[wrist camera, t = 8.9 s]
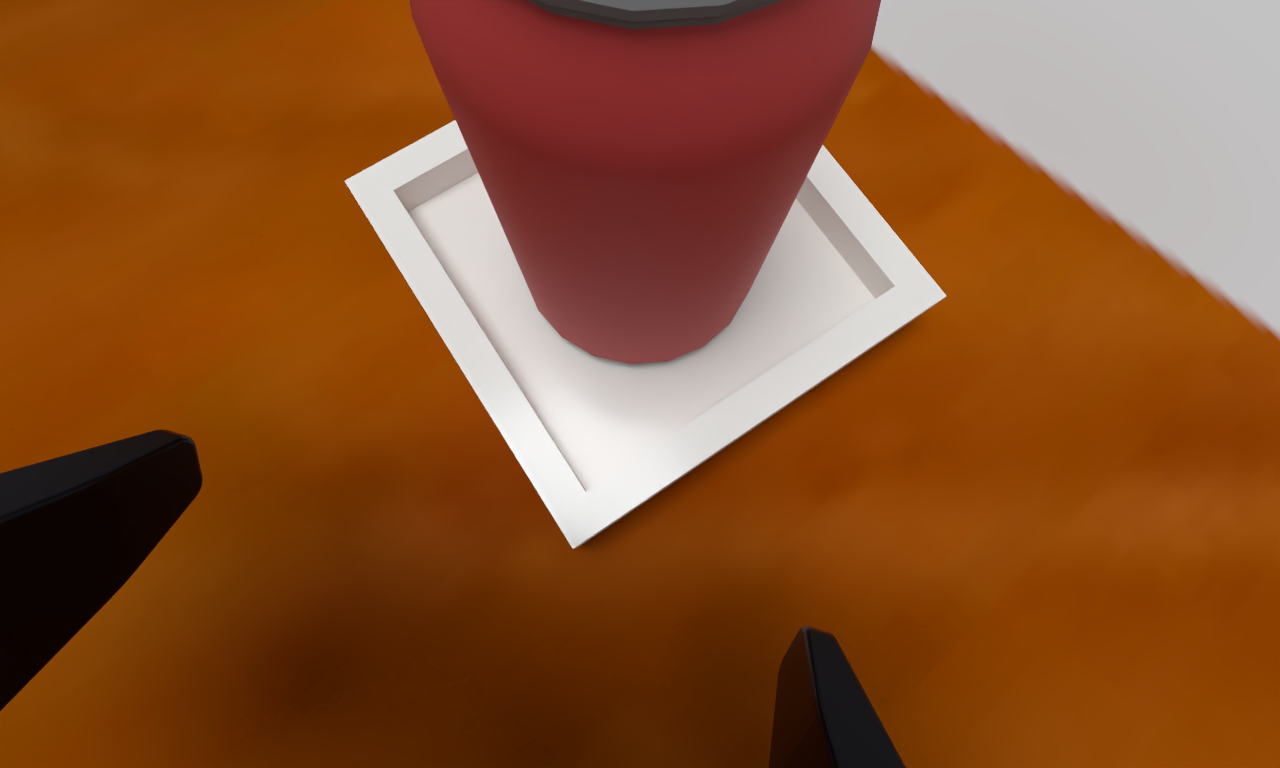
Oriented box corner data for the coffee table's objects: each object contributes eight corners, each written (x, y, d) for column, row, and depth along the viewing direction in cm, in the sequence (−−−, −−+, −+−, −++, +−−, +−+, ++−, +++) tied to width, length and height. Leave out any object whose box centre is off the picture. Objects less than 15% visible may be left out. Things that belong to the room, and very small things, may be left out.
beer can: (715, 142, 19) (850, -472, 7) (778, 340, 18) (1068, -28, 6) (506, 187, 19) (293, -388, 7) (553, 394, 17) (383, 112, 5)
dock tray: (910, 322, 19) (946, 296, 17) (580, 546, 17) (573, 549, 15) (688, 43, 21) (694, -11, 19) (376, 218, 19) (344, 180, 17)
